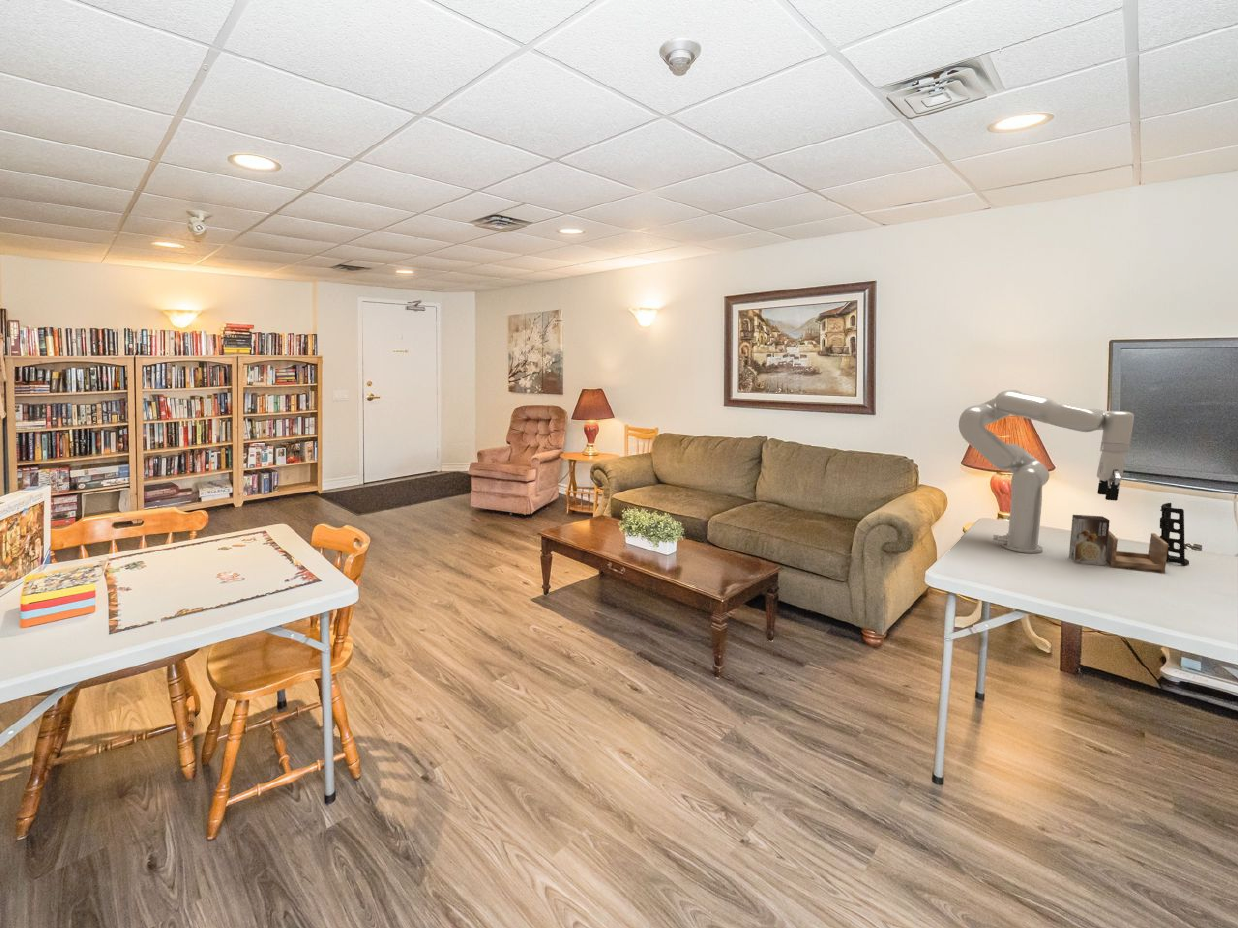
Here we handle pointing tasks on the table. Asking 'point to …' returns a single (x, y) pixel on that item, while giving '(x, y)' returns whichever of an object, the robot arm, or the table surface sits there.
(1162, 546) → the cradle
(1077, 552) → the coffee box
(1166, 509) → the holder
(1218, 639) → the table surface
